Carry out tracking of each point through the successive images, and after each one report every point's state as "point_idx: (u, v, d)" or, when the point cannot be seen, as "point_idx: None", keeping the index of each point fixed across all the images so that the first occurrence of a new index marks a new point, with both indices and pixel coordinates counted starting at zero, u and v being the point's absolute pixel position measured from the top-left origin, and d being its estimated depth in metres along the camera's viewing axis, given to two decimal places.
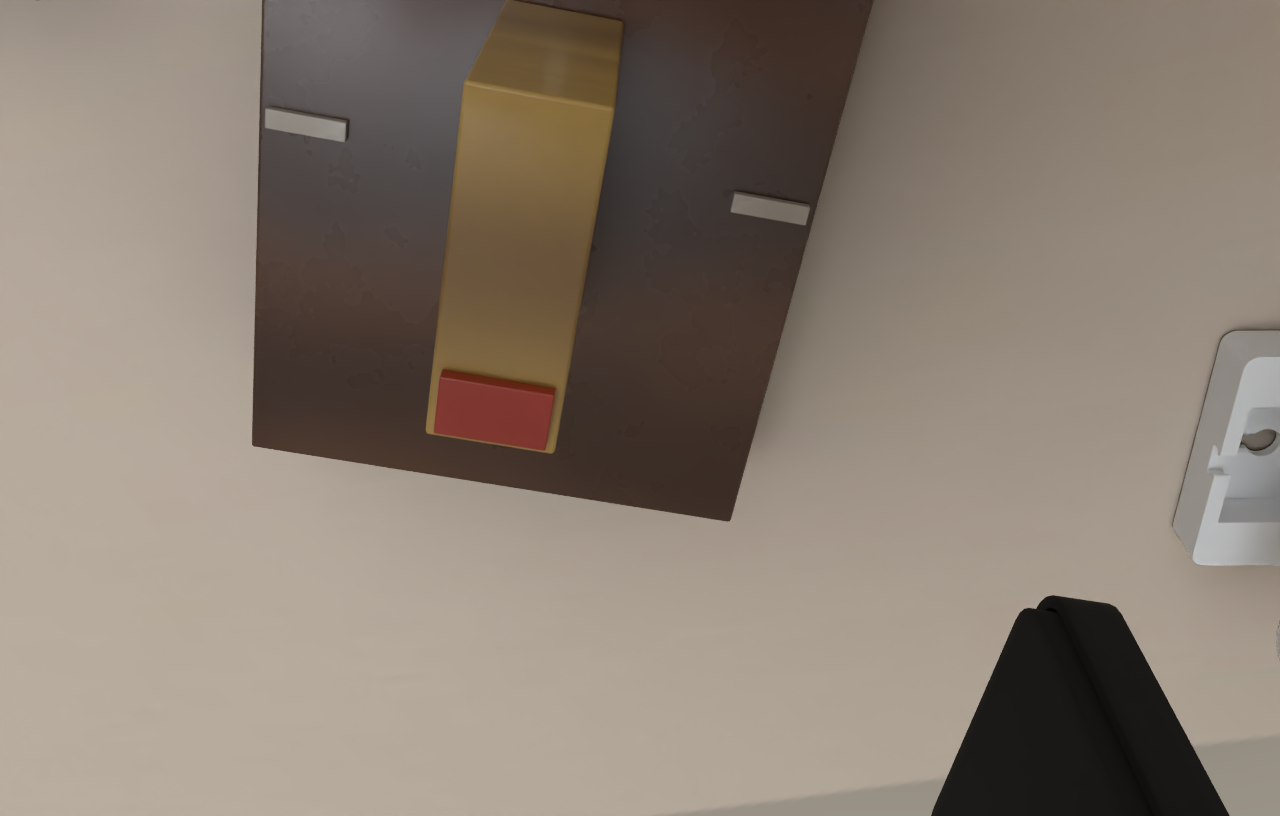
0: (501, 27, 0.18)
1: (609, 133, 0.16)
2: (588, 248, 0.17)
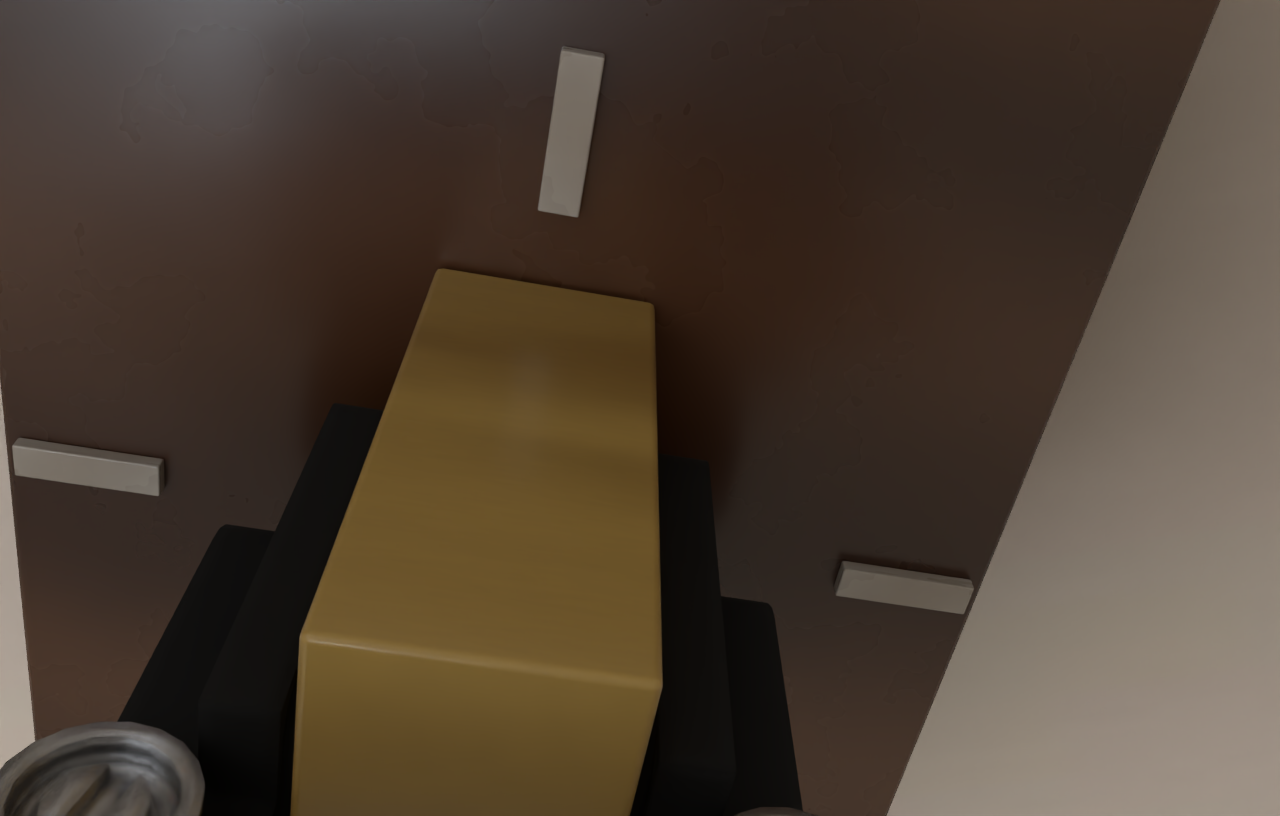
0: (418, 370, 0.09)
1: (649, 730, 0.07)
2: None
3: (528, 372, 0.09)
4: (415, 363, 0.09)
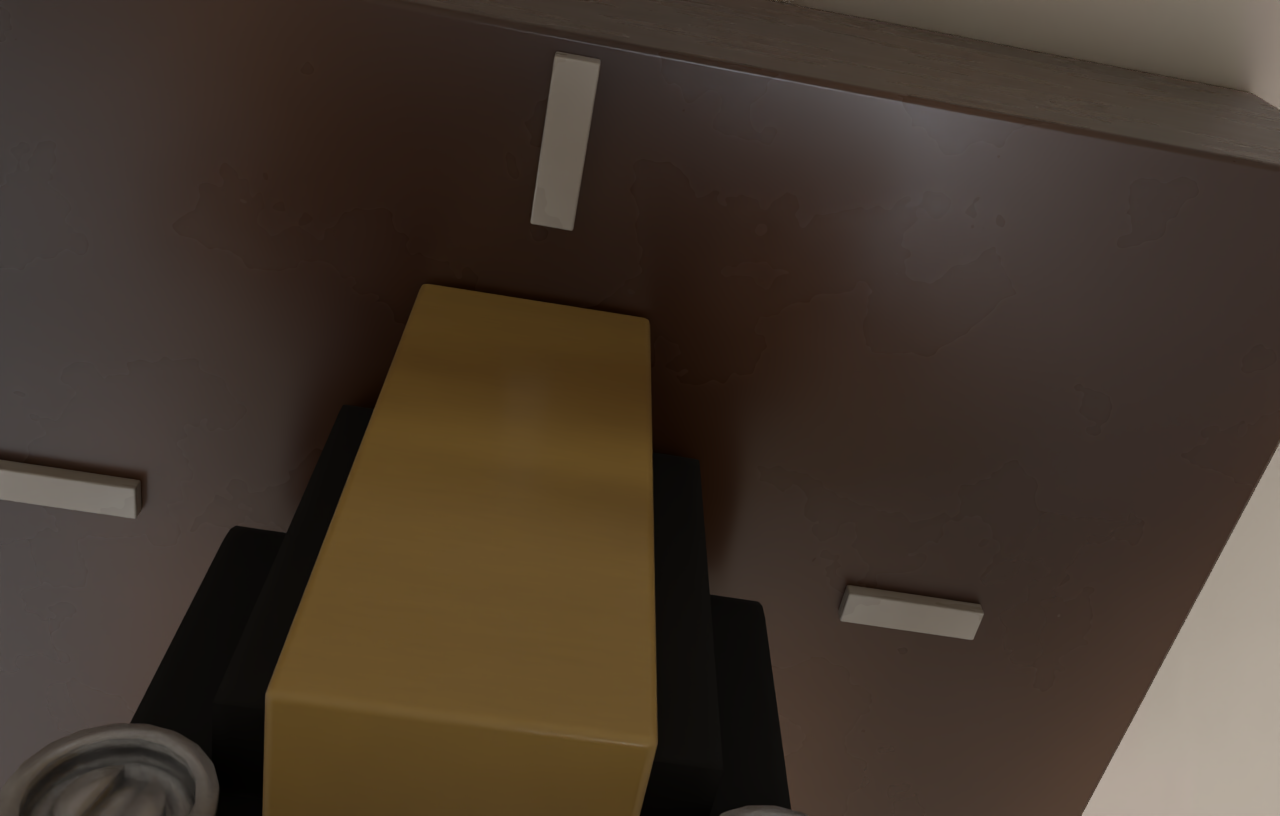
0: (399, 394, 0.09)
1: (643, 789, 0.06)
2: None
3: (516, 395, 0.09)
4: (396, 387, 0.09)
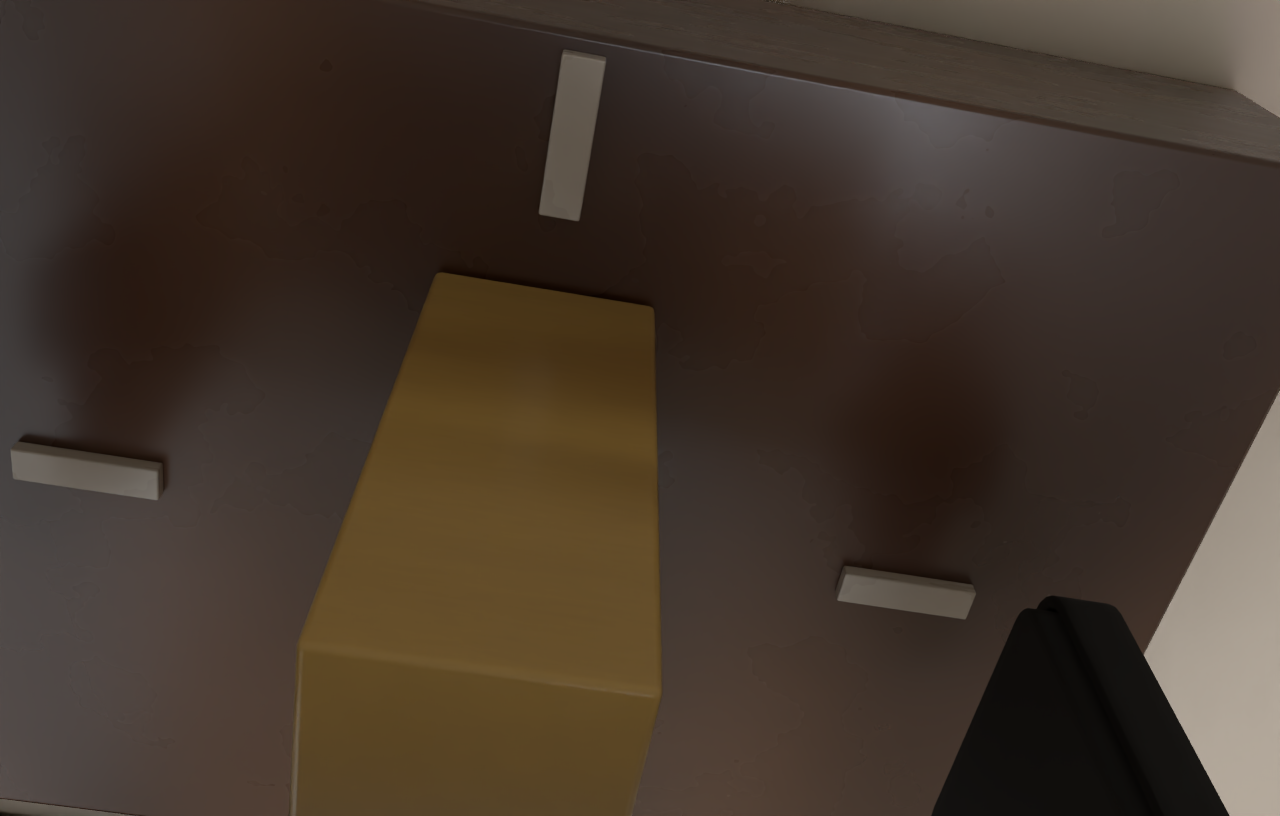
0: (416, 375, 0.09)
1: (648, 738, 0.07)
2: None
3: (527, 377, 0.09)
4: (413, 368, 0.09)
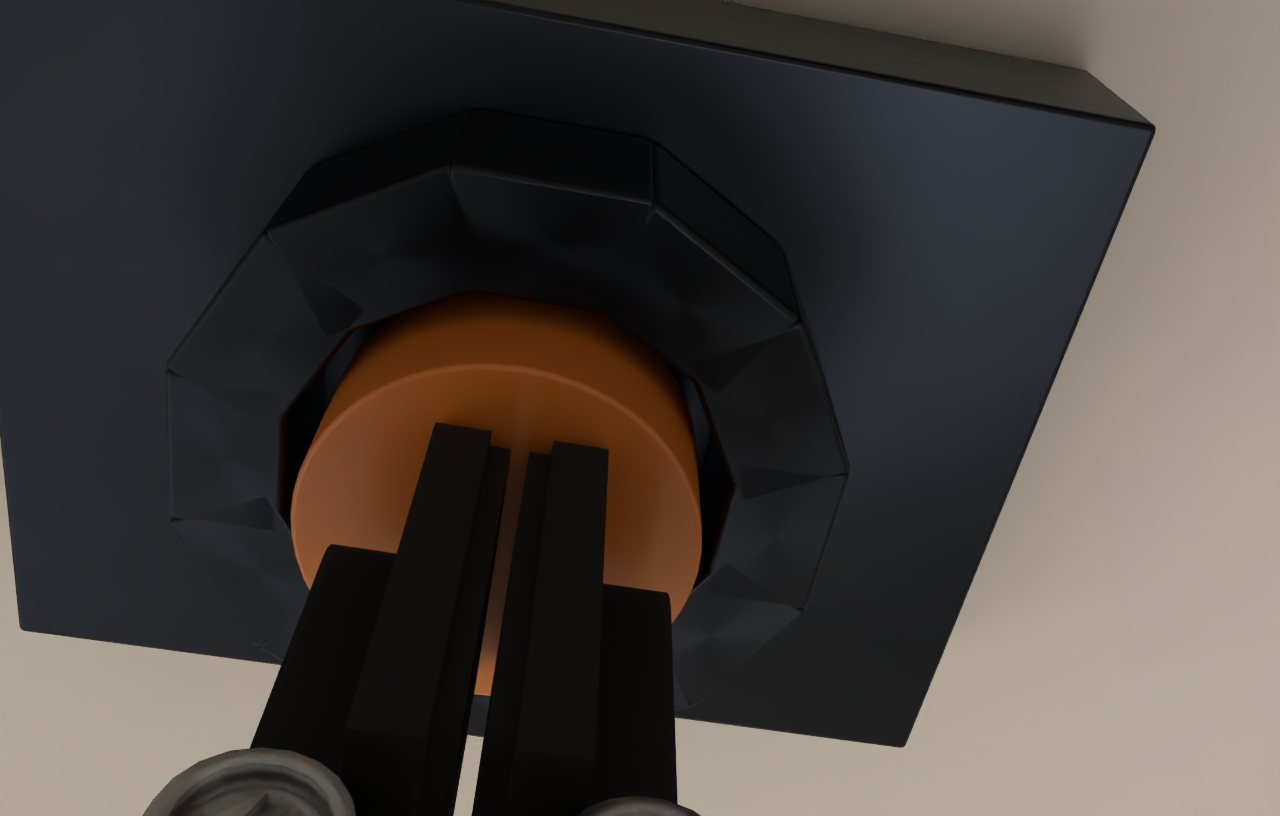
0: None
1: None
2: None
3: None
4: None
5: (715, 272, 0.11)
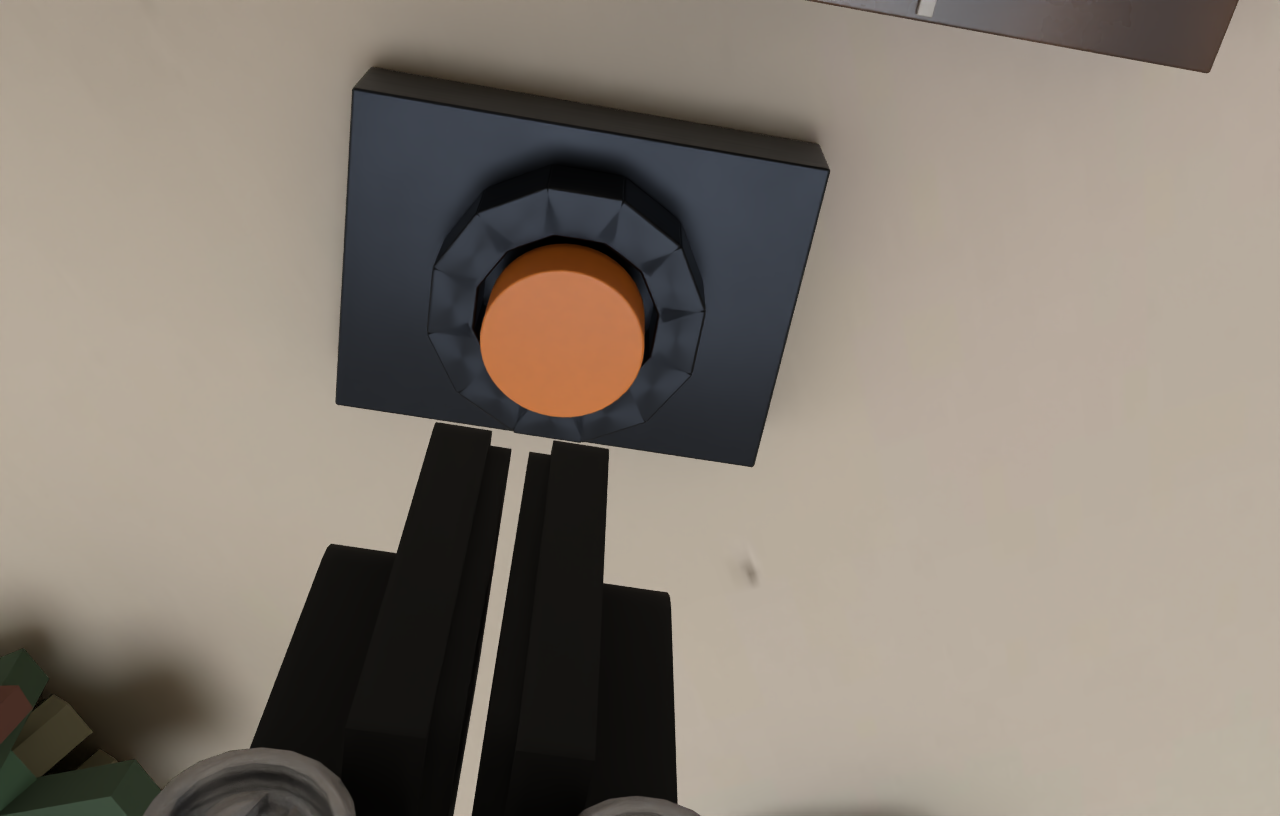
0: None
1: None
2: None
3: None
4: None
5: (647, 227, 0.29)
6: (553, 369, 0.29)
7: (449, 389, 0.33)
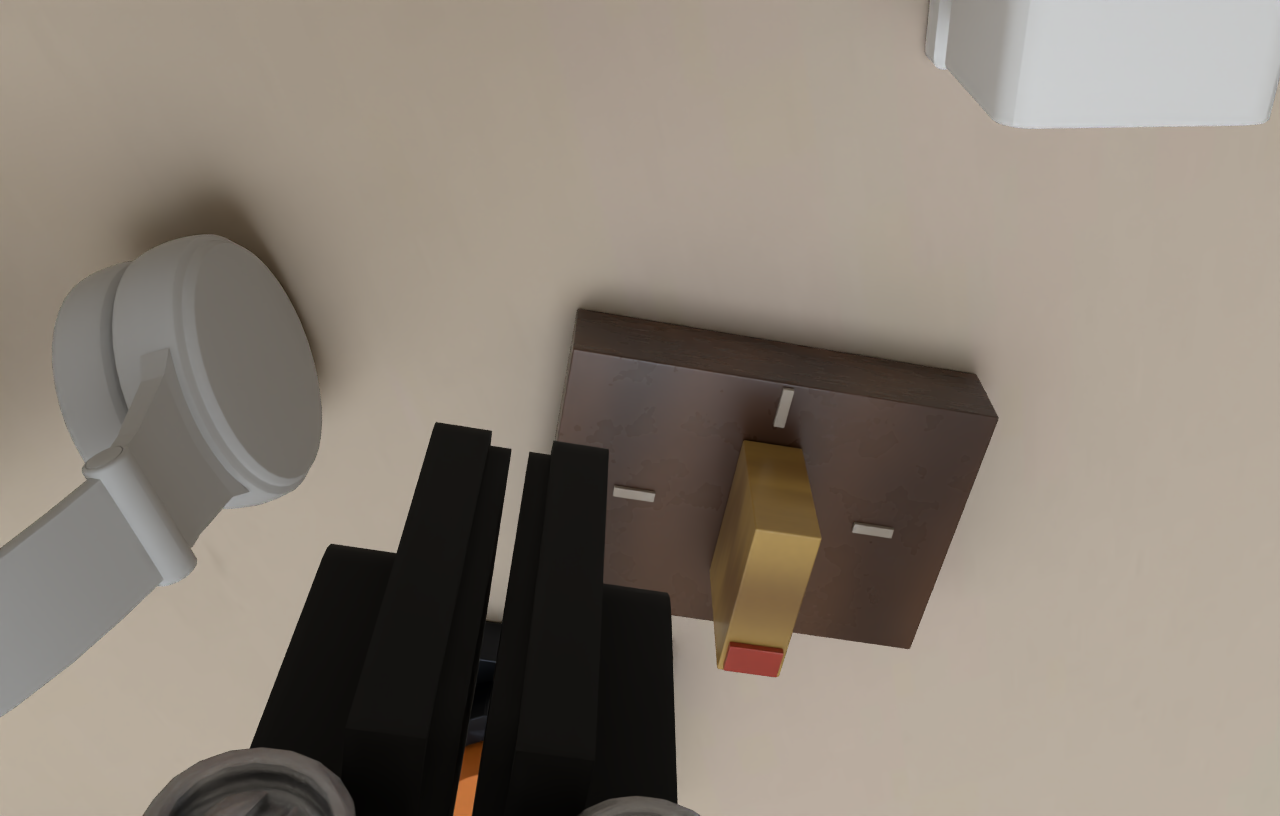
0: (752, 472, 0.37)
1: (818, 547, 0.35)
2: (804, 592, 0.36)
3: (777, 472, 0.38)
4: (751, 470, 0.38)
5: None
6: None
7: None
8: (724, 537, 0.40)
